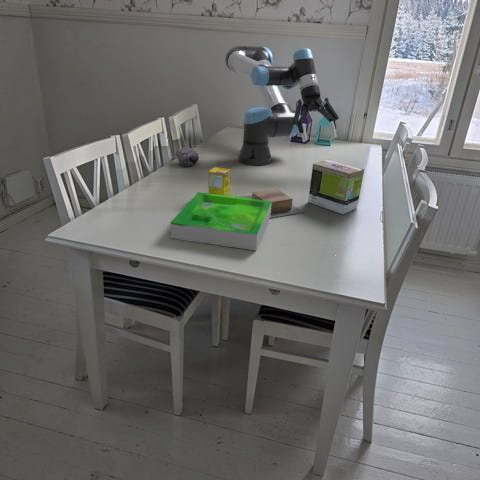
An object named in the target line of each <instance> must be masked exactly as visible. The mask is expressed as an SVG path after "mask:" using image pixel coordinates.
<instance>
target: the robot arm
mask: <svg viewBox="0 0 480 480" xmlns="http://www.w3.org/2000/svg"><path fill="white" fill-rule="evenodd" d="M224 57H225V59H224V62H225V66H226V67H227V68H228V70H230V71H232V72H233V73H239V74H242V75H244V76H245V77H248V78H249V79H251V82H252V84H253V86H256V87H257V88H258V90H259V92H260V94H261V97H262V99H263V102H264V103H265V106H266V107H265V106H264V107H262V106H261V107H259V106H258V107H253V108H249V109H248V110H246V111H245V113H244V119H243V138H242V139H243V140H242V141H243V142H242V145H241V148H240V150H239V153H238V161H239V162H240V163H242V164H245V165H248V166H249V165H250V166H265V165H269V164H270V163H271V162H272V154H271V151H270V146H269V142H270V138H272V139H273V138H285V137H286V138H290V137H295V136H296V135H297V134H298V133H299V134H301V138H302V139H301V141H302V143H305V142H306V141H308V135H307V129H306V124H305V123H304V121H305V119H306V117H307V115H308V113H309V112H318V113H320V114H321V115H322V116H323V117H324V118H325V119H326V120H327V122H329V123H328V126H329V132H330V138H331V140H333V139H335V138H337V131H336V130H337V125H336V123H337V122H336V121H337V120H339V115H338V113H337V112H336V110H335V109H334V108H333V106H332V104H331V103H330V102H329V98H328V97H325V98H323V99H322V98H321V91H320V87H319V82H318V81H319V80H318V77H317V70H316V66H315V61H314V57H313V53H312V50H311V49H310V48H306V47H305V48H300V49H298V50H296V51H294V53H293V63H292V64H291V65H290V66H273V65H274V59H273V53H272V52H271V50H270V49H269V48H268V47H265V46H260V45H259V46H251V45H250V46H249V45H247V46H246V45H237V46H233V47H232V48H230V49H228V51H227V53H226V55H225V56H224ZM297 86H299V90H300V96H301V99H298V100H297V101H296V102H295V109H294V110H293V109H292V107H291V104H289V103H288V102H286V101H285V100H284V98H283V95H282V93H281V91H280V89H279V87H282V88H283V89H285V90H287V91H288V90H292V89H294V88H295V87H297ZM302 106H303V107H304V109H303V112H302V114H301V111H302Z"/></svg>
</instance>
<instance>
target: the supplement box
mask: <svg viewBox="0 0 480 480" xmlns="http://www.w3.org/2000/svg"><path fill="white" fill-rule="evenodd" d="M207 186H208V192H207V193H209V194H217V195H225V196H230V189H231V188H230V186H231V169H230V168H225V167H224V168H223V167H217V166H214V167H213V168H212V169H210V170H209V171H208V185H207Z"/></svg>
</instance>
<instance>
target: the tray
mask: <svg viewBox="0 0 480 480" xmlns="http://www.w3.org/2000/svg"><path fill="white" fill-rule="evenodd" d="M271 204H272V201H265V200H257V199H249V198H241V196H234V195H233V196H232V195H229V196H225V195H217V194H209V193H208V192H200V191H199V192H197V193H196V194H195V195H194V196H193V197H191V199H190V201H188V203H187V204H186V205H185V206H184V207H183V208H182V209H181V210H180V212H178V214H177V215H176V216H175V217H174V218H173V219H172V220H171V221H170V239H177V240H182V241H189V242H195V243H201V244H202V243H203V244H210V245H215V246H223V247H230V248H236V249H243V250H249V251H257V250H258V246H259V244H260V242H261V239H262V237H263V234H264V232H265V230H266V227H267V225H268V223H269V220H270V219H269V218H270V216H271Z"/></svg>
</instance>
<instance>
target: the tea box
mask: <svg viewBox="0 0 480 480" xmlns="http://www.w3.org/2000/svg"><path fill="white" fill-rule="evenodd" d="M364 174H365V169H364V168H362V167H358V166H354V165H351V164H347V163H344V162H340V161H335V160H332V159H325V160H322V161H321V160H320V161H318V162H315V163H314V162H313V163H312V169H311V175H310V176H311V177H310V183H309V191H308V192H309V193H308V203H310V204H313V205H315V206H319V207H321V208H323V209H327V210H330V211H333V212H335V213H338V214H341V215H345V214H347V213H350V212H352V211H354V210H355V209H357V208H358V204H359V202H360V201H359V199H360V194H361V189H362V184H363V179H364V178H363V177H364Z"/></svg>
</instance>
